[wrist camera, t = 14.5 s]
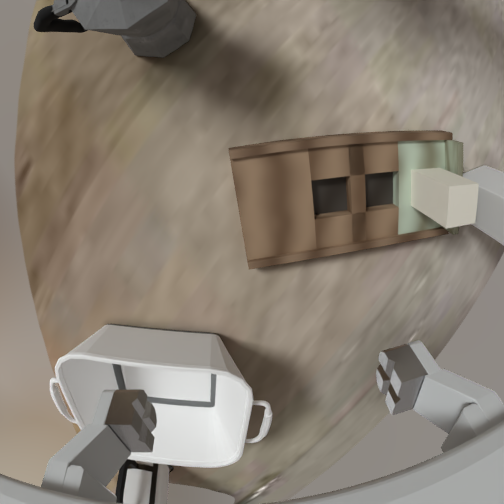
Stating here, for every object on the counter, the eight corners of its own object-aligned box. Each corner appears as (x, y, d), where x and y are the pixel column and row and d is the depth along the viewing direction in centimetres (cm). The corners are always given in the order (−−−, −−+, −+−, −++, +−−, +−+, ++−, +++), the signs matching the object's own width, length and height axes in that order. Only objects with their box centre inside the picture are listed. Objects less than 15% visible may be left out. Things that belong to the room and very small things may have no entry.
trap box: (247, 260, 43) (250, 279, 38) (228, 148, 36) (228, 153, 32) (439, 227, 43) (457, 240, 38) (441, 130, 36) (463, 135, 32)
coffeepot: (207, -19, 27) (195, -98, 10) (219, 45, 31) (214, -8, 14) (87, 17, 27) (8, -23, 10) (96, 80, 31) (10, 69, 15)
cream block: (410, 205, 39) (446, 228, 31) (411, 169, 37) (449, 186, 29) (438, 201, 39) (475, 223, 31) (439, 167, 37) (478, 183, 29)
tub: (274, 309, 47) (289, 371, 35) (253, 415, 58) (259, 468, 46) (59, 291, 43) (23, 343, 31) (90, 399, 54) (75, 448, 42)
